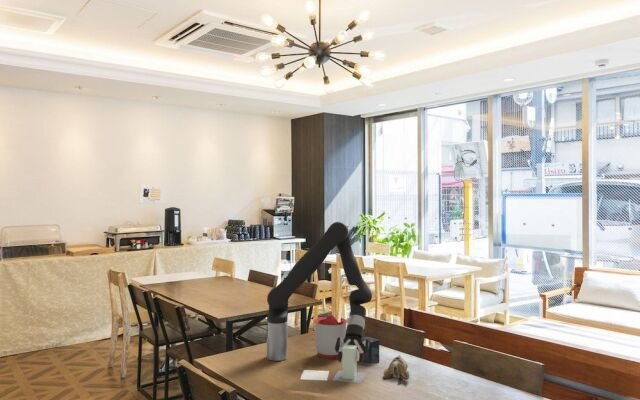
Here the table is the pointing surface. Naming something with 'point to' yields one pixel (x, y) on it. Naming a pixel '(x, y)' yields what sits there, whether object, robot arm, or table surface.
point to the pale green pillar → (349, 362)
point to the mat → (314, 375)
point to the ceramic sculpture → (397, 369)
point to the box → (371, 350)
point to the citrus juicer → (329, 335)
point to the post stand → (357, 379)
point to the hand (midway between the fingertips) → (349, 362)
